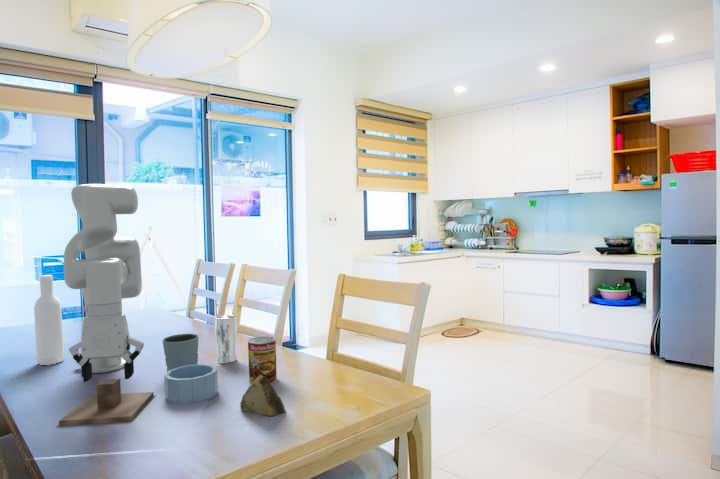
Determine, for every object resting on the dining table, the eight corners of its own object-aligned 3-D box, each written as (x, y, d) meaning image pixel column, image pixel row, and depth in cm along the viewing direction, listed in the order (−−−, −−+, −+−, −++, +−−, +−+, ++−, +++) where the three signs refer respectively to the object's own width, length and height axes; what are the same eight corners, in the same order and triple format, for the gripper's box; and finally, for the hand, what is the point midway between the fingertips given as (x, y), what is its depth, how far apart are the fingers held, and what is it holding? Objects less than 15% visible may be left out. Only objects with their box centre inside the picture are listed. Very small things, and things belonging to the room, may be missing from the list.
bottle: (67, 361, 164) (62, 275, 163) (40, 367, 158) (35, 277, 157) (60, 357, 170) (55, 273, 168) (34, 363, 164) (29, 276, 163)
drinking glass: (206, 372, 148) (205, 334, 148) (184, 383, 139) (183, 342, 138) (179, 370, 152) (178, 332, 151) (156, 380, 142) (154, 340, 142)
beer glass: (232, 364, 156) (230, 319, 155) (212, 363, 158) (210, 318, 157) (241, 358, 163) (239, 314, 162) (222, 357, 164) (221, 314, 164)
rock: (227, 402, 117) (244, 409, 109) (244, 370, 121) (262, 374, 113) (261, 420, 122) (280, 427, 114) (277, 388, 126) (296, 393, 118)
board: (55, 428, 110) (55, 427, 110) (89, 400, 127) (89, 399, 127) (132, 423, 112) (132, 421, 112) (156, 396, 129) (156, 395, 129)
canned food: (253, 386, 134) (251, 344, 134) (246, 378, 141) (244, 338, 141) (280, 381, 138) (278, 340, 138) (272, 374, 145) (270, 335, 145)
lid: (59, 425, 110) (57, 395, 110) (90, 400, 126) (89, 373, 126) (131, 421, 112) (129, 390, 112) (153, 396, 128) (152, 369, 128)
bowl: (159, 406, 122) (158, 381, 122) (174, 388, 135) (173, 365, 135) (211, 402, 123) (210, 378, 123) (221, 385, 136) (220, 363, 136)
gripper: (60, 314, 113) (63, 386, 114) (135, 310, 115) (139, 381, 116) (75, 309, 121) (79, 376, 121) (146, 306, 123) (149, 372, 123)
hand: (108, 379), depth 118 cm, fingers open, 9 cm apart
